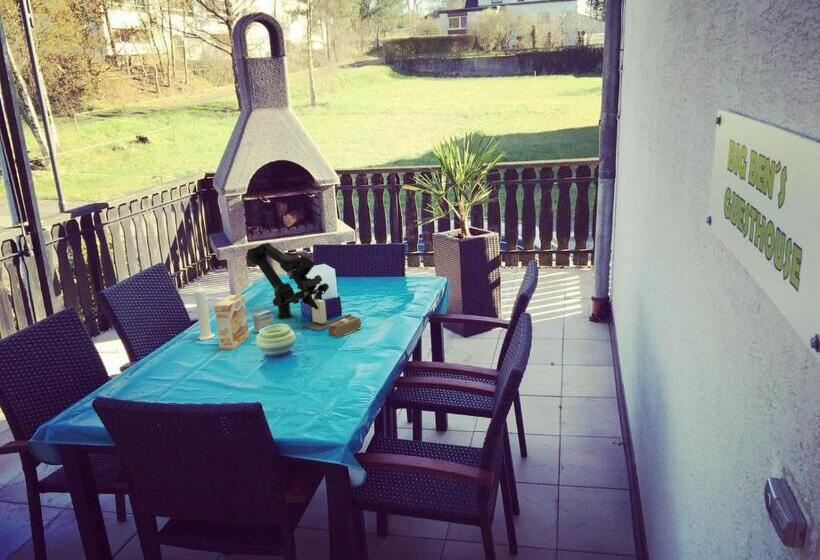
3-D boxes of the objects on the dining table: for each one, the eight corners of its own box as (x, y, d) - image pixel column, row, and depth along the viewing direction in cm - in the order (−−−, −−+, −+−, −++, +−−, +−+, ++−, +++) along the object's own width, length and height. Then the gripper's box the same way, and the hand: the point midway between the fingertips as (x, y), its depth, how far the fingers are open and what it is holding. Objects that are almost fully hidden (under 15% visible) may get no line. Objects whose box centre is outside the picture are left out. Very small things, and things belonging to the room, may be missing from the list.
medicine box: (260, 334, 297) (258, 315, 295) (254, 332, 300) (252, 314, 297) (274, 328, 303) (272, 310, 301) (267, 327, 306) (265, 309, 303)
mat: (301, 326, 304) (301, 325, 304) (320, 319, 312) (320, 318, 312) (319, 331, 296) (319, 330, 296) (338, 324, 305) (338, 322, 305)
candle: (194, 339, 295) (186, 284, 288) (206, 333, 301) (198, 280, 294) (206, 341, 292) (199, 286, 285) (218, 335, 298) (210, 281, 291)
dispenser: (328, 335, 291) (327, 323, 290) (350, 326, 302) (350, 314, 300) (338, 338, 287) (337, 325, 286) (361, 328, 298) (360, 316, 296)
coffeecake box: (234, 349, 280) (229, 305, 275) (219, 349, 282) (213, 305, 276) (249, 337, 294) (244, 294, 289) (234, 336, 296) (229, 294, 290)
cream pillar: (312, 321, 305) (310, 300, 302) (317, 319, 307) (315, 298, 304) (321, 323, 301) (319, 302, 298) (326, 321, 303) (324, 300, 300)
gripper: (293, 275, 293) (312, 303, 289) (324, 266, 307) (343, 292, 303) (283, 290, 300) (302, 317, 296) (314, 280, 314) (332, 306, 310)
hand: (320, 308), depth 301 cm, fingers closed on cream pillar, 3 cm apart
